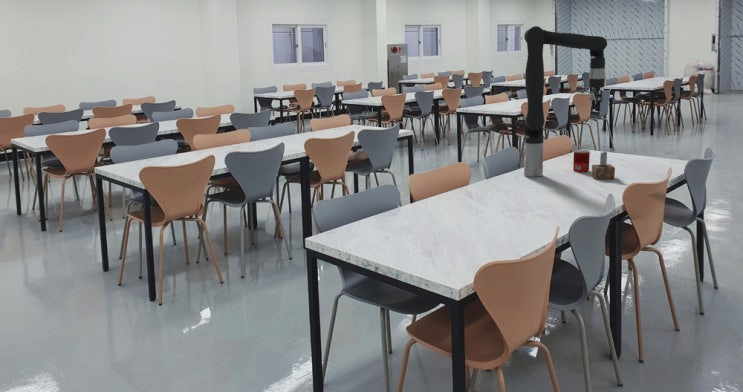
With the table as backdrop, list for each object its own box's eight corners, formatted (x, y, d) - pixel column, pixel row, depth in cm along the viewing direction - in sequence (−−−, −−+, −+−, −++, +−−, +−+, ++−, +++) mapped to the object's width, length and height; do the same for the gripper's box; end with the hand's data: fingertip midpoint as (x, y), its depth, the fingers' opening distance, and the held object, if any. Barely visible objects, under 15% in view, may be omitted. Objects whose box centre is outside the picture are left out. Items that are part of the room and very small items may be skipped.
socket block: (595, 179, 322) (596, 167, 320) (591, 176, 331) (592, 164, 329) (614, 179, 321) (614, 167, 319) (609, 175, 329) (610, 164, 328)
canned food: (590, 172, 341) (591, 151, 338) (575, 172, 341) (576, 152, 338) (586, 169, 348) (587, 149, 346) (571, 170, 348) (572, 149, 346)
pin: (600, 176, 324) (601, 152, 321) (599, 175, 327) (600, 151, 324) (606, 176, 324) (607, 152, 321) (605, 175, 327) (606, 151, 324)
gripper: (586, 77, 330) (585, 109, 334) (592, 78, 317) (590, 111, 320) (601, 76, 330) (600, 108, 333) (608, 78, 316) (606, 111, 319)
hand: (595, 110), depth 327 cm, fingers open, 8 cm apart
